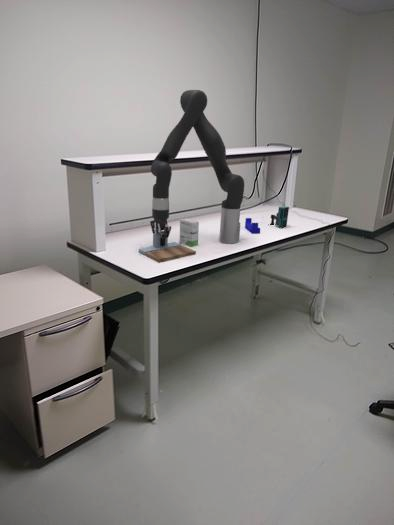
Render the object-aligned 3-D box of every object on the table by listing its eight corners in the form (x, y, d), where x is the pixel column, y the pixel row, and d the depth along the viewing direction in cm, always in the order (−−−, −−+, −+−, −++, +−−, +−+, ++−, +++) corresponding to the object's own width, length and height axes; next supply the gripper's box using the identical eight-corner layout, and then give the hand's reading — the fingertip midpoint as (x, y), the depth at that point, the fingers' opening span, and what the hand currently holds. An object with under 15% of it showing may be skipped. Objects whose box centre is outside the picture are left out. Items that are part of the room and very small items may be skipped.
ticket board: (182, 248, 187) (182, 245, 187) (195, 254, 180) (196, 250, 180) (146, 256, 175) (146, 252, 175) (159, 262, 168) (159, 258, 168)
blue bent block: (259, 233, 218) (260, 223, 216) (252, 234, 217) (253, 223, 215) (252, 228, 229) (253, 217, 227) (244, 228, 228) (245, 218, 226)
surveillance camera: (274, 203, 236) (289, 206, 230) (272, 223, 240) (286, 227, 234) (269, 204, 232) (284, 208, 226) (267, 225, 236) (281, 228, 230)
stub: (174, 244, 192) (174, 229, 189) (180, 247, 188) (181, 232, 186) (138, 252, 180) (138, 235, 177) (144, 255, 176) (144, 238, 173)
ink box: (198, 245, 194) (199, 221, 190) (191, 247, 190) (192, 222, 186) (186, 241, 199) (186, 217, 195) (178, 242, 196) (179, 219, 192)
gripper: (177, 209, 174) (176, 247, 180) (158, 203, 185) (158, 239, 190) (162, 211, 170) (162, 250, 176) (144, 205, 180) (145, 242, 186)
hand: (160, 244), depth 183 cm, fingers closed on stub, 3 cm apart
